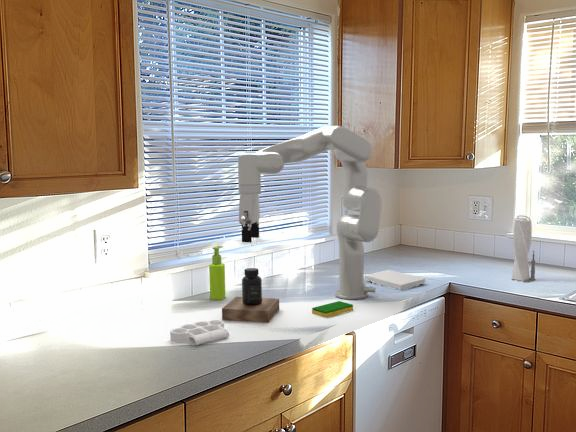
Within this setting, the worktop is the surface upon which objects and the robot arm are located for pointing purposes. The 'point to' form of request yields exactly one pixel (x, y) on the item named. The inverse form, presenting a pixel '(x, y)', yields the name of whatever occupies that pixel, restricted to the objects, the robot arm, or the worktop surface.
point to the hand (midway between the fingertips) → (250, 239)
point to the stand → (250, 310)
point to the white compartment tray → (199, 332)
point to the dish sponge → (332, 309)
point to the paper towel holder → (522, 250)
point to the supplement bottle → (251, 287)
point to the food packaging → (395, 279)
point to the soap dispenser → (217, 276)
